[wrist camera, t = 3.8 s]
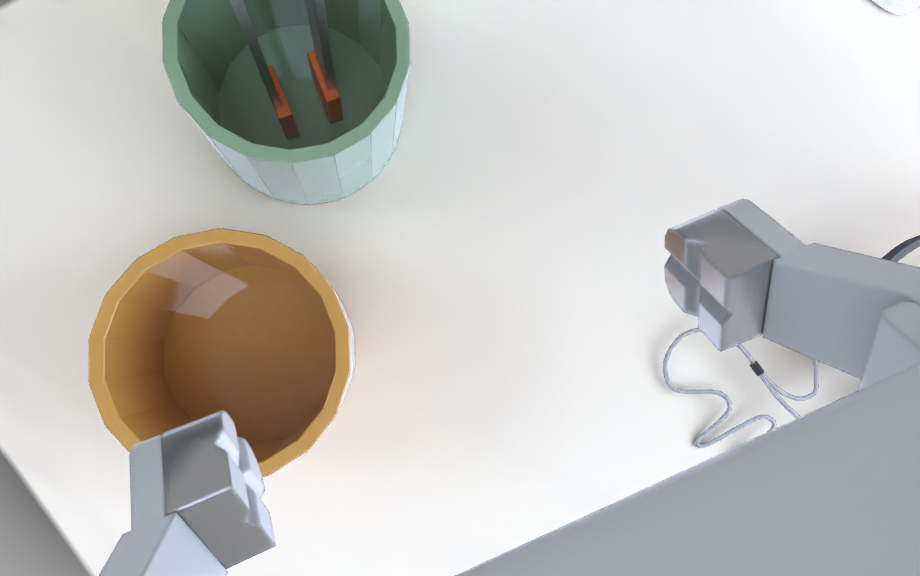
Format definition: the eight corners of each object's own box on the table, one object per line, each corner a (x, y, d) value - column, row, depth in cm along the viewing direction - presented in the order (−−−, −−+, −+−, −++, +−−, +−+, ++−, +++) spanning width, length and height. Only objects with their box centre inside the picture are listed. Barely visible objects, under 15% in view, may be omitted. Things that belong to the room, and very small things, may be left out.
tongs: (325, 74, 39) (264, -277, 17) (343, 119, 39) (305, -175, 17) (268, 94, 38) (132, -241, 17) (286, 139, 38) (173, -136, 16)
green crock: (360, -5, 40) (357, -105, 31) (430, 167, 40) (446, 114, 31) (181, 55, 39) (124, -33, 30) (252, 233, 38) (215, 198, 29)
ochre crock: (313, 228, 39) (295, 192, 30) (384, 407, 38) (388, 425, 30) (126, 298, 37) (49, 282, 28) (198, 484, 37) (144, 527, 28)
